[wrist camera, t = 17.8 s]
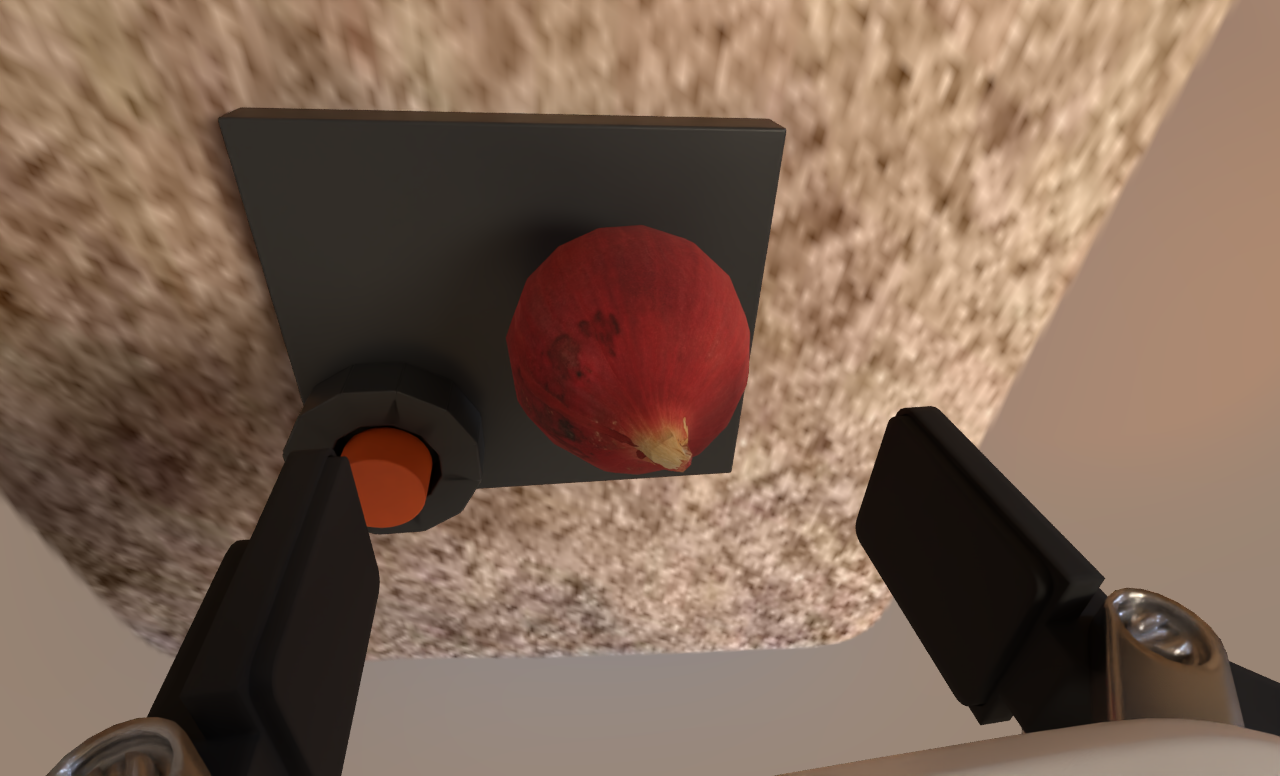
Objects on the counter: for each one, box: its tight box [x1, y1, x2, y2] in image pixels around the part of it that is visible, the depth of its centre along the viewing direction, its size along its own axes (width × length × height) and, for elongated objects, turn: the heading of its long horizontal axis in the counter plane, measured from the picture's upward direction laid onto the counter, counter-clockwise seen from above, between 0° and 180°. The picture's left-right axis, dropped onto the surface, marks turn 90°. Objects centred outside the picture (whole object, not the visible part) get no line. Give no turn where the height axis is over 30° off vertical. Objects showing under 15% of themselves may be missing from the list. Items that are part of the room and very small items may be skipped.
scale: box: [218, 108, 786, 534], centre depth 19 cm, size 14×12×3 cm
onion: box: [506, 225, 750, 475], centre depth 15 cm, size 6×6×8 cm
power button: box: [341, 427, 433, 528], centre depth 18 cm, size 3×3×2 cm
